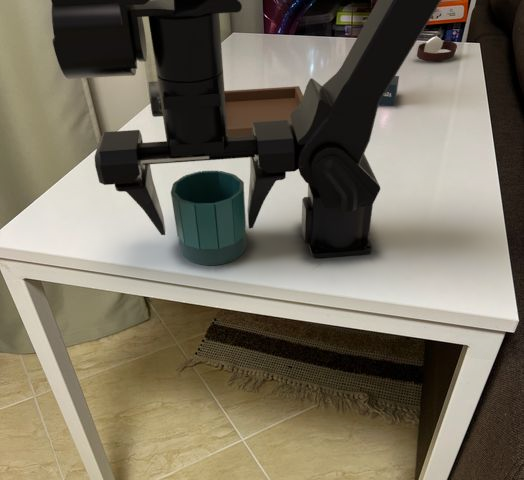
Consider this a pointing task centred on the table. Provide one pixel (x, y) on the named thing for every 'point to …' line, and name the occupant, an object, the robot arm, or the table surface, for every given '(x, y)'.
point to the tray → (259, 107)
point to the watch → (390, 93)
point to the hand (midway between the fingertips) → (207, 229)
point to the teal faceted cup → (210, 216)
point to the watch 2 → (436, 50)
